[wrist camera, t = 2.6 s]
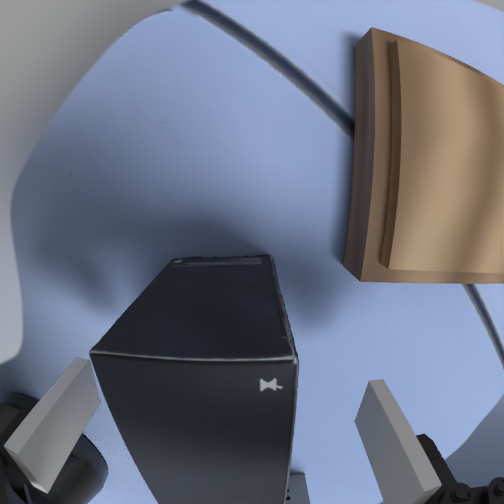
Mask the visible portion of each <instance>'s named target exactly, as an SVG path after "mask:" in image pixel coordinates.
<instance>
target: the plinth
mask: <svg viewBox="0 0 504 504" xmlns="http://www.w3.org/2000/svg"><path fill="white" fill-rule="evenodd" d="M354 52H355V137H354V158H353V174H352V188H351V200H350V210H349V220H348V229H347V238H346V246H345V254H344V262H343V266H344V267H345V268H346V269H347V270H348V271H349V272H350V273H351V274H352V275H354V276H355V277H356V278H357V279H358V280H359V281H360V282H392V283H461V284H494V283H504V85H503V84H501V83H499V82H498V81H496V80H494V79H493V78H491V77H489V76H487V75H486V74H484V73H482V72H480V71H479V70H477V69H475V68H473V67H471V66H469V65H467V64H465V63H463V62H461V61H459V60H457V59H455V58H453V57H451V56H449V55H446V54H444V53H442V52H440V51H437V50H435V49H433V48H430V47H428V46H425V45H423V44H420V43H418V42H415V41H412V40H410V39H407V38H404V37H401V36H398V35H395V34H392V33H389V32H386V31H383V30H379V29H376V28H372V27H371V28H370V29H369V31H368V32H367V33H366V34H365V35H364V36H363V37H362V39H361V40H360V41H359V42H358V43H357V44H356V46H355V47H354Z"/></svg>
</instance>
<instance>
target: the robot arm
mask: <svg viewBox="0 0 504 504" xmlns="http://www.w3.org/2000/svg"><path fill="white" fill-rule="evenodd" d="M100 402H101V401H100V397H99V394H98V390H97V387H96V383H95V380H94V376H93V372H92V368H91V364H90V360H87V359H83V358H79V357H77V358H76V359H75V360H74V361H73V362H72V363H71V364H70V365H69V367H68V368H67V369H66V370H65V371H64V372H63V373H62V375H61V376H60V377H59V378H58V379H57V380H56V382H55V383H54V384H53V385H52V386H51V387H50V389H49V390H48V391H47V392H46V393H45V395H44V396H43V397H42V398H41V399H40V401H39V402H37V401H35V400H34V399H31V398H29V397H27V396H25V395H22V394H18V393H6V394H5V395H3V396H2V398H1V399H0V504H87V503H89V502H90V501H91V500H92V499H93V498H94V497H95V496H96V495H97V494H98V493H99V492H100V491H101V489H102V488H103V486H104V483H105V481H106V478H107V476H108V468H107V465H106V463H105V461H104V459H103V458H102V456H101V455H100V453H99V452H98V451H97V450H96V448H95V447H94V446H93V445H92V444H91V443H90V442H89V441H88V440H87V439H86V438H85V437H84V436H83V435H82V432H83V430H84V429H85V427H86V425H87V424H88V422H89V420H90V419H91V417H92V415H93V414H94V412H95V410H96V409H97V407H98V406H99V404H100ZM355 424H356V426H357V429H358V432H359V434H360V437H361V440H362V442H363V445H364V448H365V450H366V453H367V456H368V458H369V461H370V464H371V467H372V469H373V472H374V475H375V478H376V480H377V483H378V486H379V489H380V492H381V495H382V497H383V500H384V503H385V504H504V478H502V477H498V478H495V479H493V480H492V481H491V482H490V483H489V484H488V485H487V486H482V487H475V488H470V487H469V486H468V485H466V484H464V483H457V481H456V480H455V478H454V477H453V475H452V473H451V471H450V469H449V468H448V466H447V464H446V462H445V461H444V459H443V457H441V456H442V455H441V454H440V452H439V451H438V450H437V447H436V445H435V443H434V442H433V440H432V439H430V438H429V437H428V436H427V435H425V434H421V435H417V436H416V435H415V434H414V432H413V430H412V428H411V426H410V425H409V423H408V421H407V419H406V418H405V416H404V414H403V412H402V411H401V409H400V407H399V405H398V404H397V402H396V400H395V399H394V397H393V395H392V393H391V392H390V390H389V388H388V387H387V385H386V383H385V382H384V380H372V381H369V382H368V385H367V388H366V391H365V394H364V397H363V400H362V402H361V405H360V408H359V411H358V413H357V416H356V418H355Z"/></svg>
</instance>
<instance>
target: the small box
mask: <svg viewBox="0 0 504 504" xmlns="http://www.w3.org/2000/svg"><path fill="white" fill-rule="evenodd" d="M89 355H90V358H91V361H92V364H93V367H94V370H95V373H96V375H97V378H98V381H99V384H100V387H101V389H102V392H103V395H104V397H105V400H106V402H107V404H108V407H109V409H110V412H111V414H112V416H113V418H114V421H115V423H116V425H117V427H118V430H119V432H120V434H121V436H122V438H123V440H124V442H125V444H126V446H127V449H128V451H129V453H130V454H131V456H132V458H133V460H134V462H135V464H136V466H137V468H138V470H139V472H140V473H141V475H142V477H143V479H144V480H145V482H146V484H147V486H148V487H149V489H150V491H151V492H152V494H153V496H154V497H155V499H156V501H157V502H158V504H285V502H286V496H287V488H288V480H289V473H290V464H291V455H292V443H293V435H294V424H295V415H296V401H297V387H298V372H299V360H298V354H297V352H296V348H295V343H294V338H293V335H292V332H291V329H290V324H289V320H288V316H287V314H286V309H285V304H284V301H283V297H282V294H281V292H280V288H279V283H278V279H277V275H276V270H275V265H274V259H273V258H272V257H271V256H270V255H269V254H268V255H256V256H252V257H249V256H243V257H211V258H207V257H206V258H202V257H188V258H182V259H172V260H171V261H170V262H169V264H168V265H167V266H166V267H165V268H164V269H163V270H162V271H161V272H160V273H159V275H158V276H157V277H156V278H155V279H154V280H153V281H152V282H151V283H150V284H149V285H148V286H147V288H146V289H145V290H144V291H143V292H142V293H141V294H140V295H139V297H138V298H137V299H136V300H135V301H134V302H133V303H132V304H131V305H130V306H129V307H128V308H127V310H126V311H125V312H124V313H123V314H122V315H121V316H120V318H119V319H118V320H117V321H116V322H115V323H114V324H113V326H112V327H111V328H110V329H109V330H108V332H107V333H106V334H105V335H104V336H103V337H102V338H101V340H100V341H99V342H98V343H97V344H96V345H95V346H94V347H92V349H91V350H90V351H89Z"/></svg>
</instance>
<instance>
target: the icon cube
mask: <svg viewBox="0 0 504 504" xmlns="http://www.w3.org/2000/svg"><path fill="white" fill-rule="evenodd" d="M285 504H310V501H309V495H308V490H307V484H306V479H305V473H302V474H294V475H289V480H288V488H287V496H286V502H285Z"/></svg>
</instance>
